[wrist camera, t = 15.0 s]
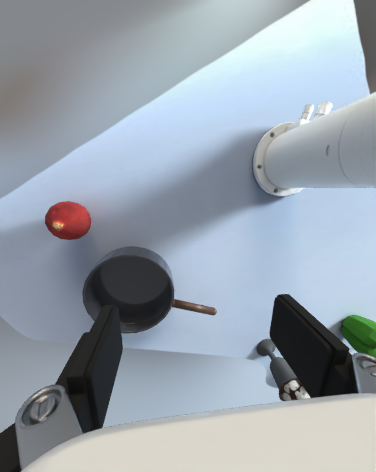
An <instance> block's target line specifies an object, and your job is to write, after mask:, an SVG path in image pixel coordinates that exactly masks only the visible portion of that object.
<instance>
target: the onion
mask: <svg viewBox="0 0 376 472" xmlns="http://www.w3.org/2000/svg"><path fill="white" fill-rule="evenodd" d="M45 224H46V226H47V228H48V230H49V231H50V232H51V233H52V234H53V235H54V236H56V237H58V238H60V239H66V240H73V239H78V238H81V237H82V236H83V235H85V234H86V233H87V232H88V230H89V229H90V226H91V218H90V214H89V213H88V211H87V210H86V208H85V207H83V206H81V205H80V204H78V203H74V202H69V201H67V202H59V203H57V204H55V205H54V206H52V207H51V208H50V209H49V210H48V212H47V214H46V216H45Z"/></svg>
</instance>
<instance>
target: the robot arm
mask: <svg viewBox="0 0 376 472" xmlns="http://www.w3.org/2000/svg"><path fill="white" fill-rule="evenodd" d="M331 107H332V104H331V103H329V102H322V103H320V104H319V105H318V108H317V110H316V113H315V115H314V119H313V120H312V121H310V122H309V121H308V120H309V118H310V116H311V114H312V112H313V110H314V105H311V104H308V105H306V106H305V108H304V110H303V113H302V116H301V119H300V120H298V121H297V122H287V123H282V124H280V125H278V126H276V127H274V128H272V129H271V130H269V131H268V132H267V133H266V134H265V135H264V136H263V137H262V138H261V140H260V142H259V143H258V145H257V147H256V150H255V153H254V158H253V171H254V175H255V178H256V180H257V182H258V184H259V185H260V187H261V188H262V189H263V190H264V191H266V192H267V193H269V194H271V195H275V196H283V197H284V196H290V195H293V194H296V193H298V192H299V191H301V190H302V189H304V188H376V92H375V93H372V94H370V95H368V96H366V97H363V98H361V99H359V100H357V101H354V102H352V103H350V104H348V105H346V106H343V107H341V108H339V109H337V110H334V111H332V112H330V109H331ZM329 112H330V113H329ZM257 166H258V168H257ZM270 338H271V340H272V341H273V343H274V344H275V346H276V347H277V349H278V350H279V352H280V353H281V355H282V356H283V358H284V359H285V361H286V362H287V364H288V365H289V366H290V368H291V369H292V371H293V372H294V374H295V375H296V377H297V378H298V380H299V381H300V383H301V384H302V386H303V387H304V389H305V390H306V392H307V393H308V394H309V396H310V397H311V398H308V399H300V400H292V401H284V402H276V403H269V404H261V405H253V406H245V407H238V408H230V409H223V410H215V411H208V412H201V413H194V414H187V415H179V416H171V417H165V418H157V419H151V420H145V421H138V422H132V423H125V424H119V425H115V426H110V427H105V428H102V427H103V423H104V420H105V416H106V412H107V408H108V404H109V401H110V397H111V393H112V389H113V385H114V381H115V377H116V374H117V370H118V366H119V362H120V359H121V355H122V349H123V345H122V336H121V327H120V317H119V309H118V307H115V305H104V306H103V307H102V309H101V311H100V313H99V315H98V317H97V318H96V320H95V322H94V324H93V326H92V328H91V330H90V332H87V333H84V334H83V335H82V337H81V339H80V340H79V342H78V344H77V346H76V348H75V349H74V351H73V353H72V355H71V357H70V358H69V360H68V362H67V364H66V366H65V367H64V369H63V371H62V373H61V375H60V376H59V378H58V380H57V382H56V384H55V385H50V386H47V387H45V388H43V389H40V390H38V391H37V392H36V393H34V394H33V395H32V396H30V397H29V398H28V399H27V400H26V401H25V402H24V404H23V405H22V407H21V408H20V409H19V411H18V413H17V416H16V421H15V423H14V424H12V425H11V426H10V427H8V428H7V429H6V430H4V431H3V432H2V433H0V472H376V358H375V357H373V356H371V355H368V354H364V353H355V354H353V355H351V354H350V353H349V348H348V347H347V346H346V345H345V344H344V343H343V342H342V341H340V340H339V339H338V338H337V337H336V336H335V335H334V334H333V333H331V332H330V331H329V330H328V329H327V328H326V327H325V326H324V325H323V324H321V323H320V322H319V321H318V320H317V319H316V318H315V317H314V316H312V315H311V314H310V313H309V312H308V311H307V310H306V309H305V308H304V307H302V306H301V305H300V304H299V303H298V302H297V301H296V300H295V299H293V298H292V297H291V296H290V295H289V294H281V295H278V296H277V297H276V298H275V301H274V308H273V314H272V321H271V327H270Z"/></svg>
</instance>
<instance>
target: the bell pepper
mask: <svg viewBox="0 0 376 472" xmlns="http://www.w3.org/2000/svg"><path fill="white" fill-rule="evenodd" d="M342 324H343V327H342V328H341V333H342V335H343V336H344V337H345V339H346V340H347V341H348V342H349V344H350V345H351V346H352V347H353V348H354V349H355V350H356V351H357V352H358V353H364V354H368V355H371V356H373V357H375V358H376V322H374V321H372V320H369V319H366V318H364V317H361V316H357V315H352V316H348V317H347V318H346V319H344V321H343V323H342Z"/></svg>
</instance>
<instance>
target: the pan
mask: <svg viewBox="0 0 376 472" xmlns="http://www.w3.org/2000/svg"><path fill="white" fill-rule="evenodd" d="M173 301H174V285H173V278H172V274H171V271H170V269H169V267H168V265H167V263H166V262H165V261H164V260H163V259H162V258H161V257H160V256H159V255H158V254H156V253H155V252H153V251H151V250H148V249H145V248H141V247H124V248H120V249H117V250H115V251H112V252H111V253H109V254H107V255H106V256H105V257H104V258H103V259H102V260H100V261H99V263H98V264H97V265H96V266H95V267H94V269H93V270H92V271H91V272H90V274H89V276H88V277H87V279H86V281H85V284H84V288H83V303H84V305H85V308H86V310H87V312H88V314H89V315H90V316H91V317H92V319H93V320H94V321H95V320H96V318H97V317H98V315H99V313H100V311H101V309H102V307H103V306H104V305H115V307H118V309H119V317H120V327H121V333H138V332H141V331H145V330H148V329H150V328H152V327H154V326H155V325H157V324H158V323H159V322H160V321H162V320H163V319H164V318H165V317H166V315H167V314H168V312H169V311H170V309H171V306H172V304H173Z"/></svg>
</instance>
